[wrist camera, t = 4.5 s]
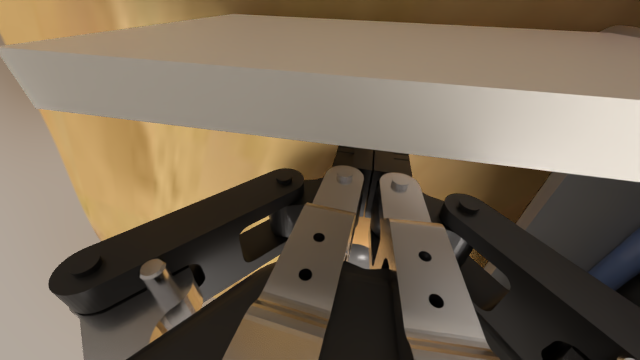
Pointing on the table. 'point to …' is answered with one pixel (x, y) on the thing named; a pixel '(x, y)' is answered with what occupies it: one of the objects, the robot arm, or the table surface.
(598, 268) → the box
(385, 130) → the cover
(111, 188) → the table surface
